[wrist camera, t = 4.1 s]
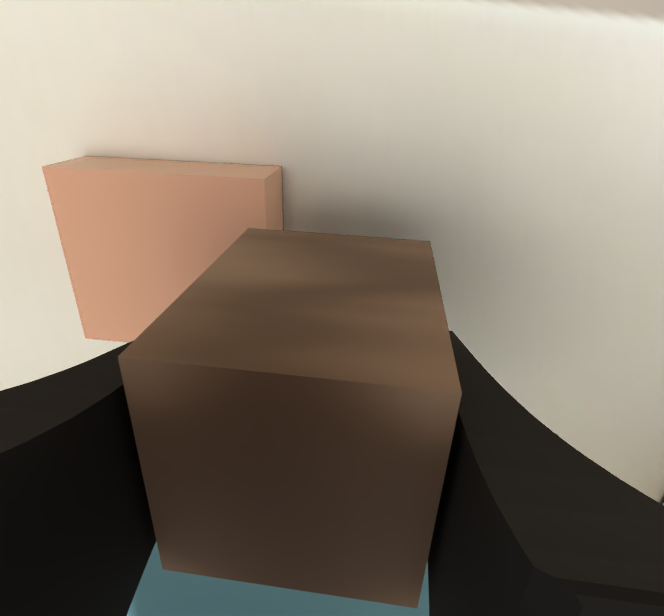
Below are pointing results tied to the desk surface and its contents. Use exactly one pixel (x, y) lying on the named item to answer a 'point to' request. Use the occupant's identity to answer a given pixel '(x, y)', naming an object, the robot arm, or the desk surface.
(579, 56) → the desk surface
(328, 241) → the walnut block
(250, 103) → the desk surface
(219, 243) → the terracotta plinth
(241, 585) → the teal rounded block
